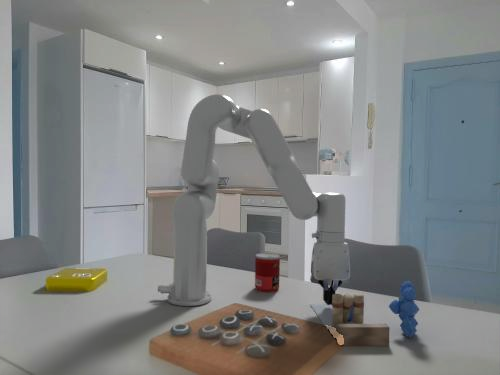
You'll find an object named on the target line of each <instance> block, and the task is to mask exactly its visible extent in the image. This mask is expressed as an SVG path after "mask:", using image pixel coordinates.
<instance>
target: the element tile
mask: <svg viewBox="0 0 500 375" xmlns="http://www.w3.org/2000/svg"><path fill="white" fill-rule="evenodd" d="M107 281H108V269H107V268H90V267H84V268H83V267H78V268H77V267H64V268H62V269H61V270H59V271H57V272H55V273H53V274H51V275H49V276H47V277H45V291H46V292H71V293H72V292H74V293H75V292H76V293H77V292H81V293H82V292H83V293H87V292H93V291H95V290H97V289H99V288H100V287H101V286H102V285H104V284H105V283H107Z"/></svg>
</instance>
